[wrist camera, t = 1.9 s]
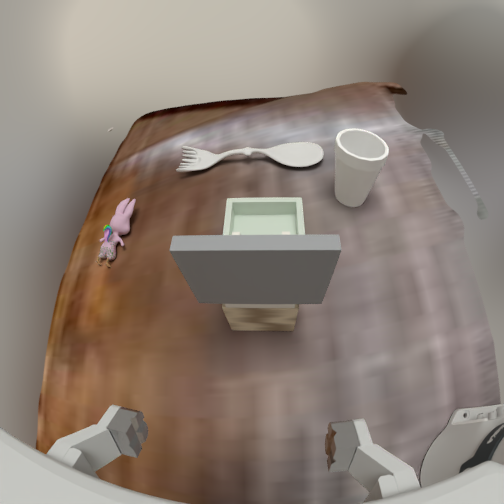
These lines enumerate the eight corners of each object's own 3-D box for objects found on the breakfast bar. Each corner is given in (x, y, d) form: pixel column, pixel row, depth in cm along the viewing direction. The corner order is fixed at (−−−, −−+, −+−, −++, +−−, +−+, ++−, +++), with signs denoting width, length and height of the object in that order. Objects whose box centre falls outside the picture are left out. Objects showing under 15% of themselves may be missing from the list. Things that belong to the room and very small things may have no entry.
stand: (292, 276, 45) (295, 244, 38) (293, 330, 40) (298, 308, 33) (235, 276, 46) (228, 244, 38) (231, 330, 41) (222, 308, 33)
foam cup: (377, 213, 51) (396, 162, 40) (332, 213, 52) (344, 160, 41) (364, 179, 56) (377, 130, 45) (323, 179, 57) (330, 127, 46)
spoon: (184, 155, 65) (181, 144, 62) (318, 147, 63) (319, 135, 60) (178, 180, 60) (174, 169, 57) (326, 171, 58) (327, 159, 55)
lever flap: (319, 307, 32) (341, 249, 22) (201, 306, 33) (169, 250, 23) (314, 243, 37) (327, 173, 27) (209, 244, 38) (188, 176, 28)
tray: (300, 212, 52) (301, 197, 49) (304, 274, 45) (307, 262, 42) (230, 213, 53) (227, 198, 50) (223, 274, 46) (219, 262, 43)
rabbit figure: (121, 272, 49) (147, 204, 55) (104, 260, 44) (135, 187, 49) (97, 266, 50) (124, 201, 56) (80, 254, 45) (111, 186, 51)
